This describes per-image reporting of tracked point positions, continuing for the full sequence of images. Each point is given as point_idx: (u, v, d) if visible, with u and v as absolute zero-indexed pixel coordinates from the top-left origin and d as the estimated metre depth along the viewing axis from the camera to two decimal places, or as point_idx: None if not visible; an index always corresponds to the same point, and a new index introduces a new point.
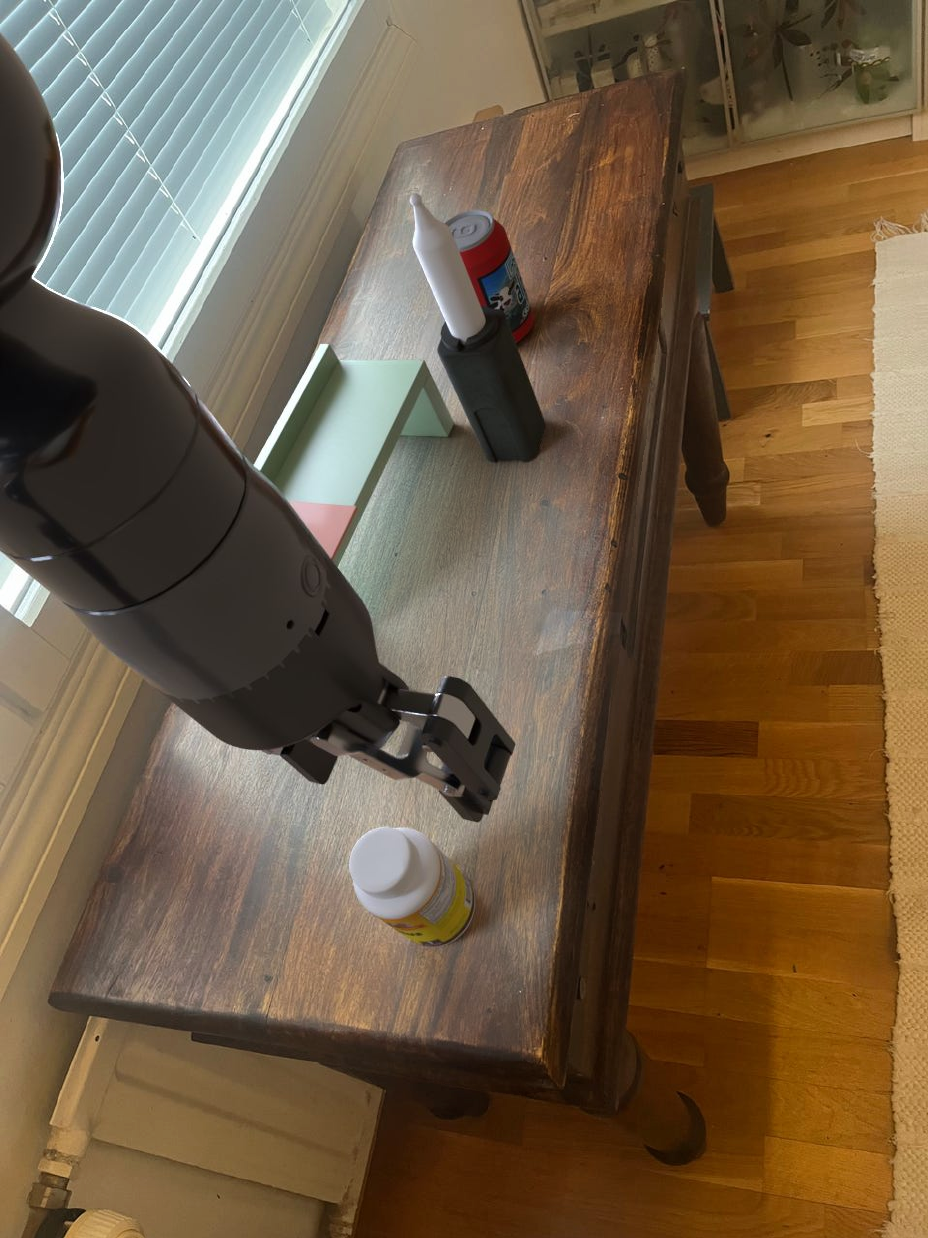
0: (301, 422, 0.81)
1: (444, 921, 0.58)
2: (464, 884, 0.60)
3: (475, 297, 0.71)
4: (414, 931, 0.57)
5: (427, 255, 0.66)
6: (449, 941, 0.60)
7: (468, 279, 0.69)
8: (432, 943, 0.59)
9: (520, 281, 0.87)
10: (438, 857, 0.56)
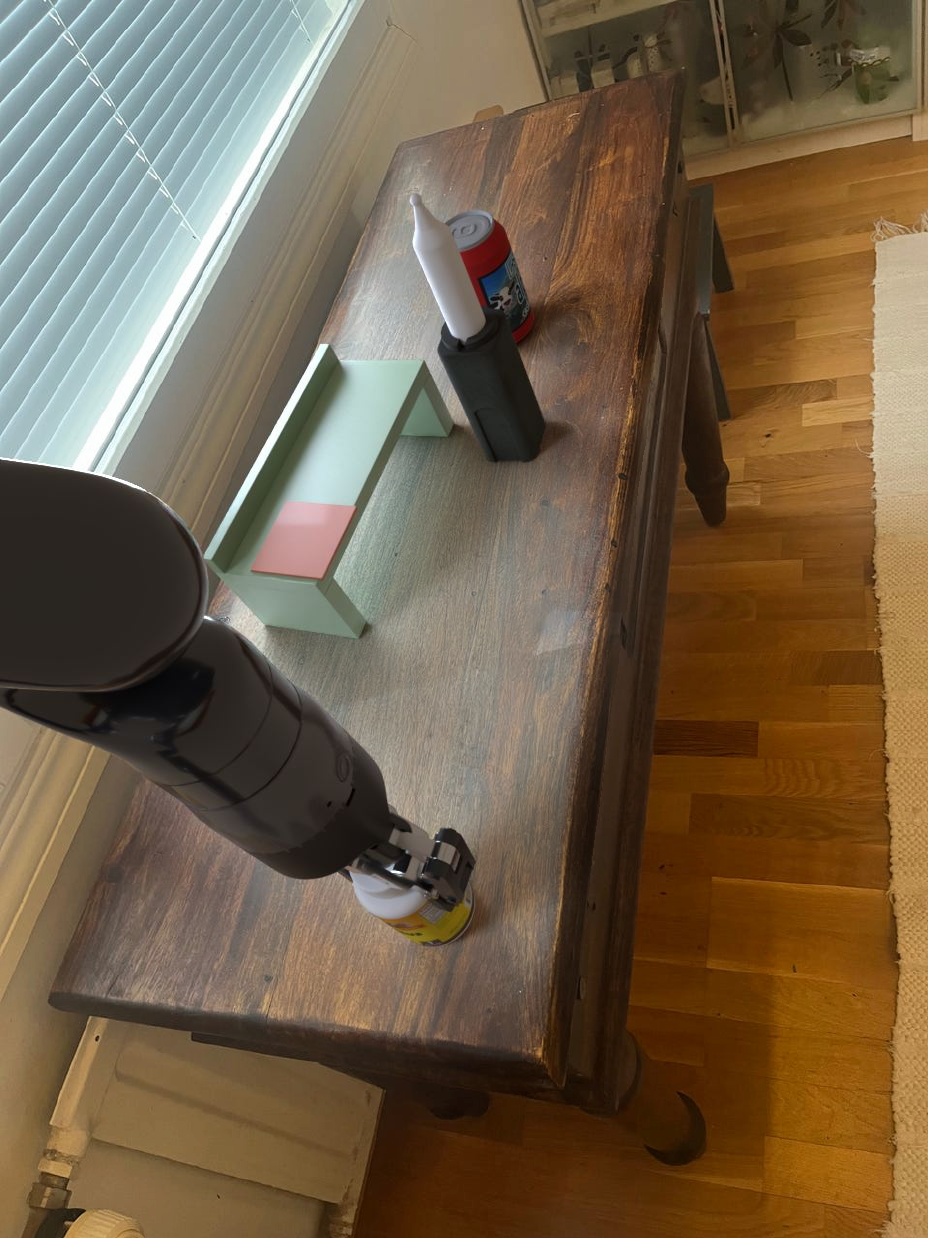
0: (301, 422, 0.81)
1: (444, 921, 0.58)
2: None
3: (475, 297, 0.71)
4: (414, 931, 0.57)
5: (427, 255, 0.66)
6: (449, 941, 0.60)
7: (468, 279, 0.69)
8: (432, 943, 0.59)
9: (520, 281, 0.87)
10: None
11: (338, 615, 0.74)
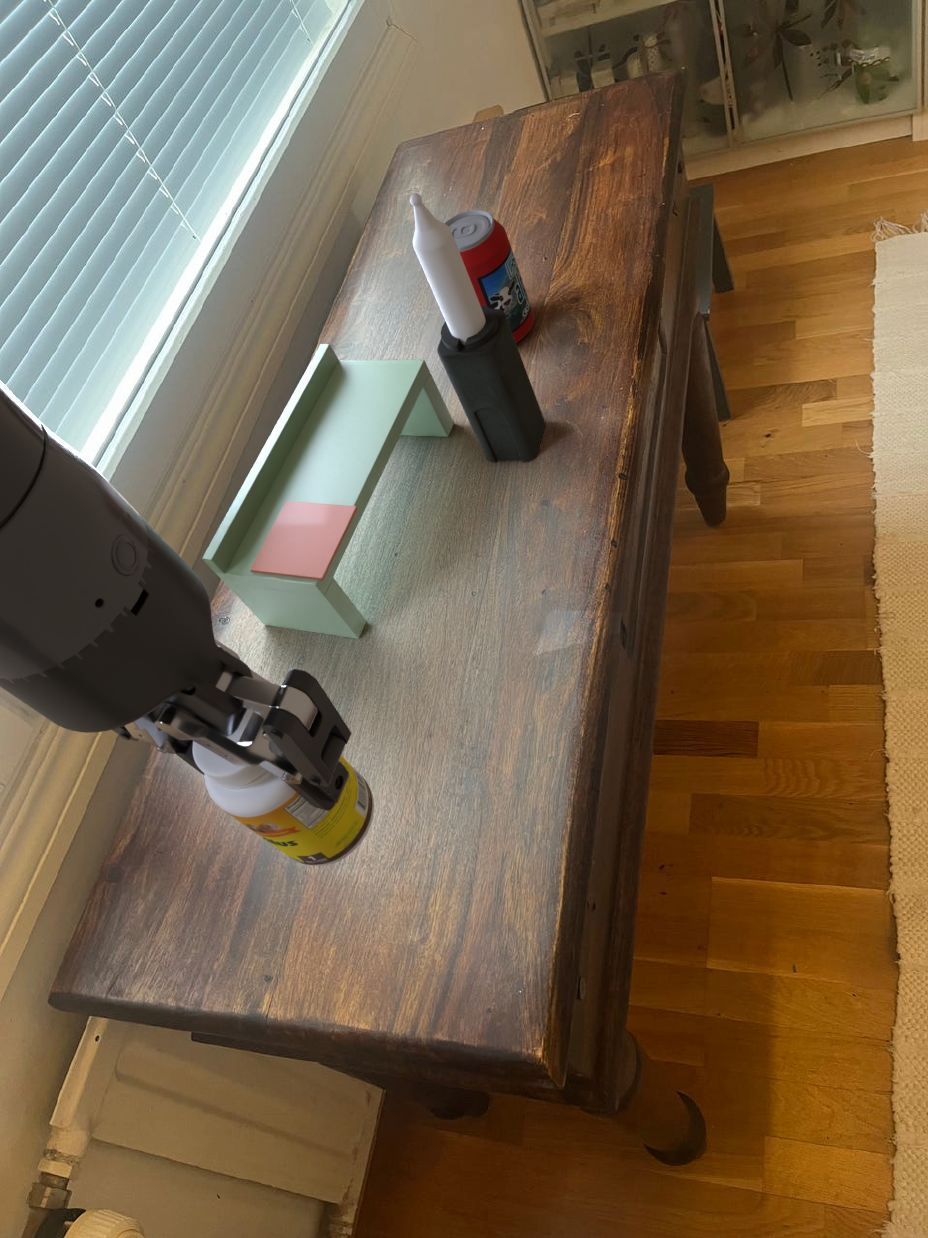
0: (301, 422, 0.81)
1: (326, 826, 0.45)
2: (356, 783, 0.47)
3: (475, 297, 0.71)
4: (285, 839, 0.44)
5: (427, 255, 0.66)
6: (337, 857, 0.47)
7: (468, 279, 0.69)
8: (314, 859, 0.46)
9: (520, 281, 0.87)
10: None
11: (338, 615, 0.74)
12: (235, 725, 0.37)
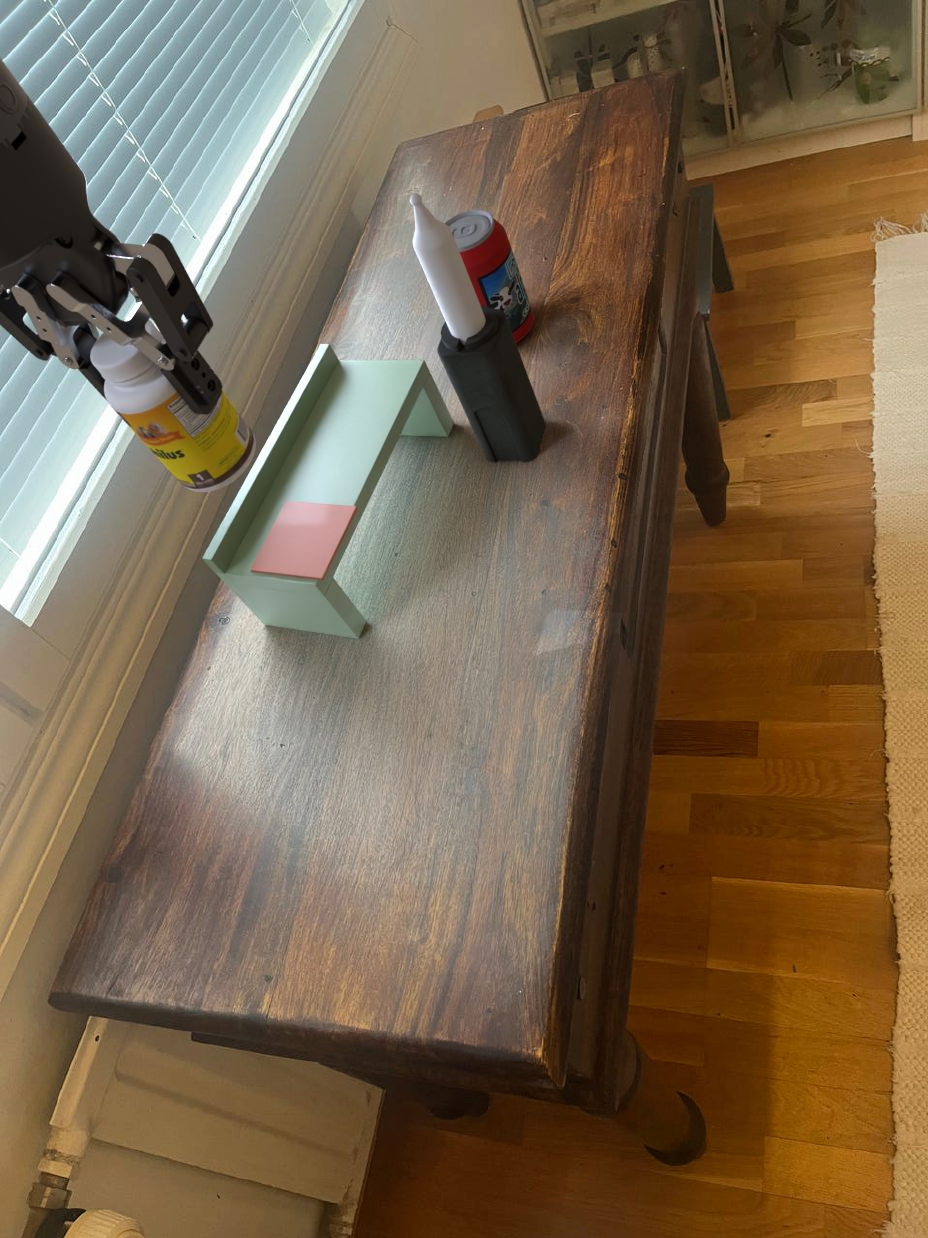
0: (301, 422, 0.81)
1: (207, 438, 0.54)
2: (237, 416, 0.56)
3: (475, 297, 0.71)
4: (173, 447, 0.54)
5: (427, 255, 0.66)
6: (222, 479, 0.56)
7: (468, 279, 0.69)
8: (202, 478, 0.56)
9: (520, 281, 0.87)
10: None
11: (338, 615, 0.74)
12: (113, 299, 0.46)
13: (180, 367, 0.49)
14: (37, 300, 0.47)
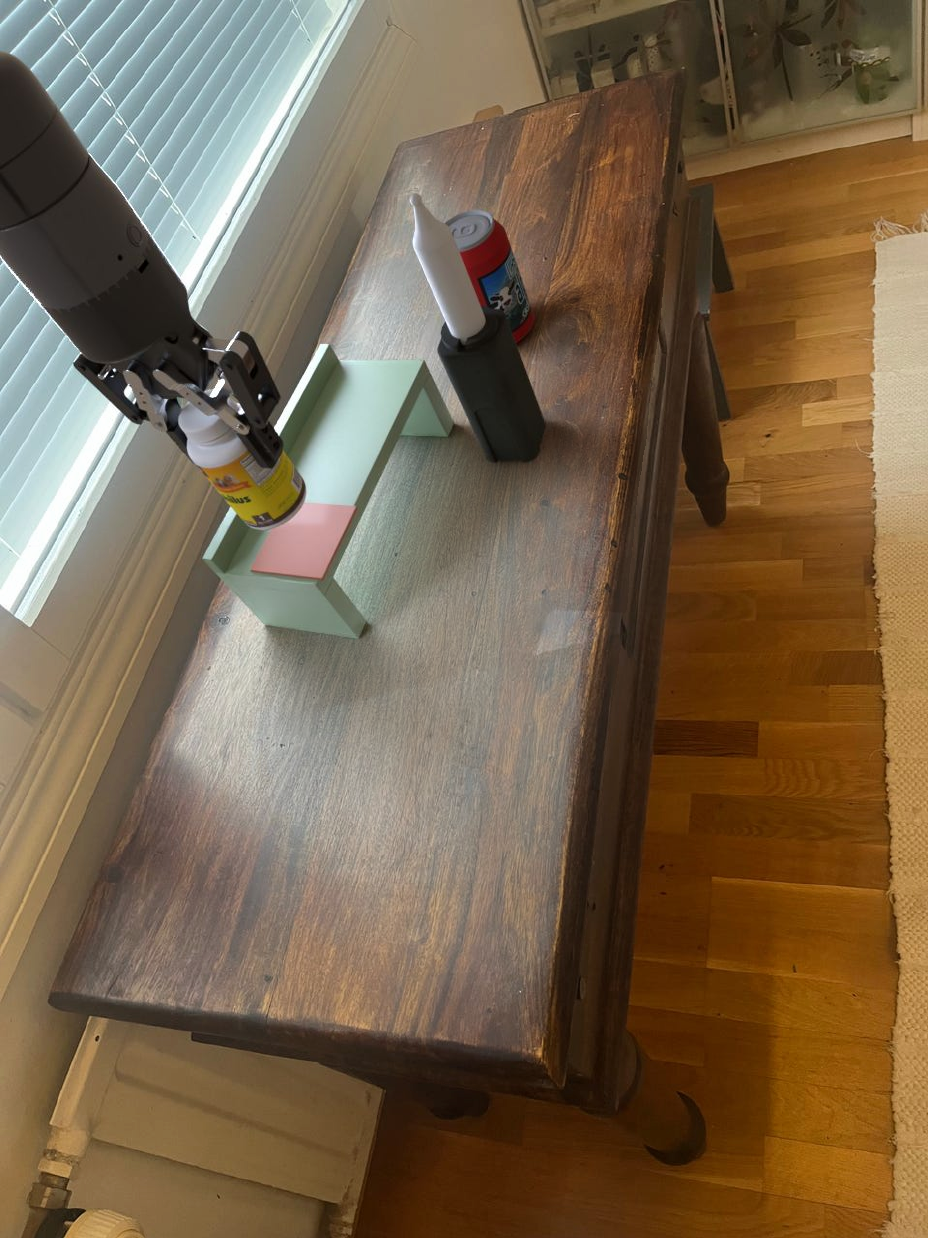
0: (301, 422, 0.81)
1: (269, 487, 0.66)
2: (292, 468, 0.68)
3: (475, 297, 0.71)
4: (242, 494, 0.65)
5: (427, 255, 0.66)
6: (280, 519, 0.68)
7: (468, 279, 0.69)
8: (264, 519, 0.68)
9: (520, 281, 0.87)
10: None
11: (338, 615, 0.74)
12: (204, 380, 0.58)
13: (253, 432, 0.61)
14: (142, 380, 0.58)
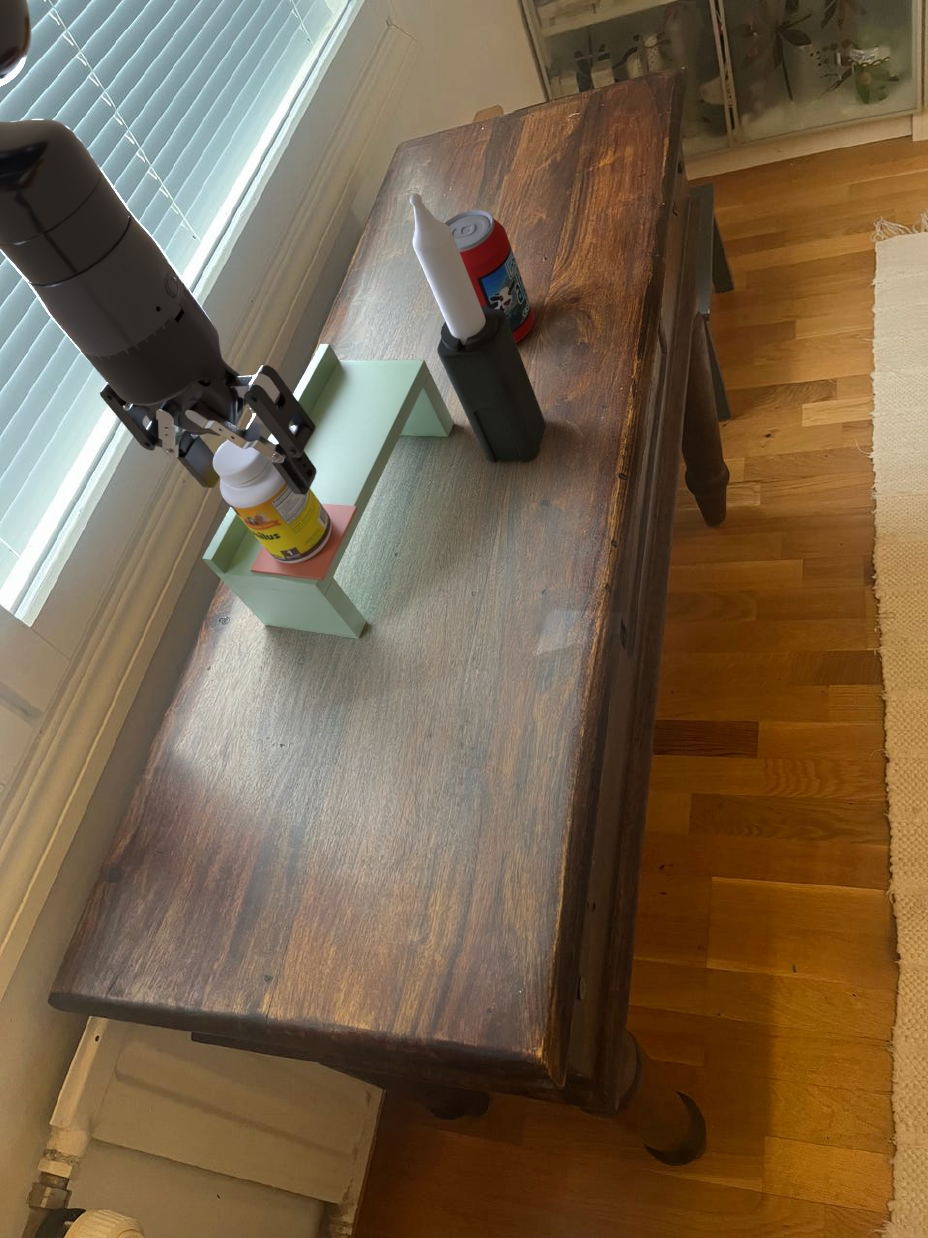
0: None
1: (298, 524, 0.69)
2: (319, 505, 0.71)
3: (475, 297, 0.71)
4: (272, 531, 0.69)
5: (427, 255, 0.66)
6: (307, 554, 0.71)
7: (468, 279, 0.69)
8: (292, 553, 0.71)
9: (520, 281, 0.87)
10: None
11: (338, 615, 0.74)
12: (234, 418, 0.61)
13: (288, 460, 0.63)
14: (175, 419, 0.61)
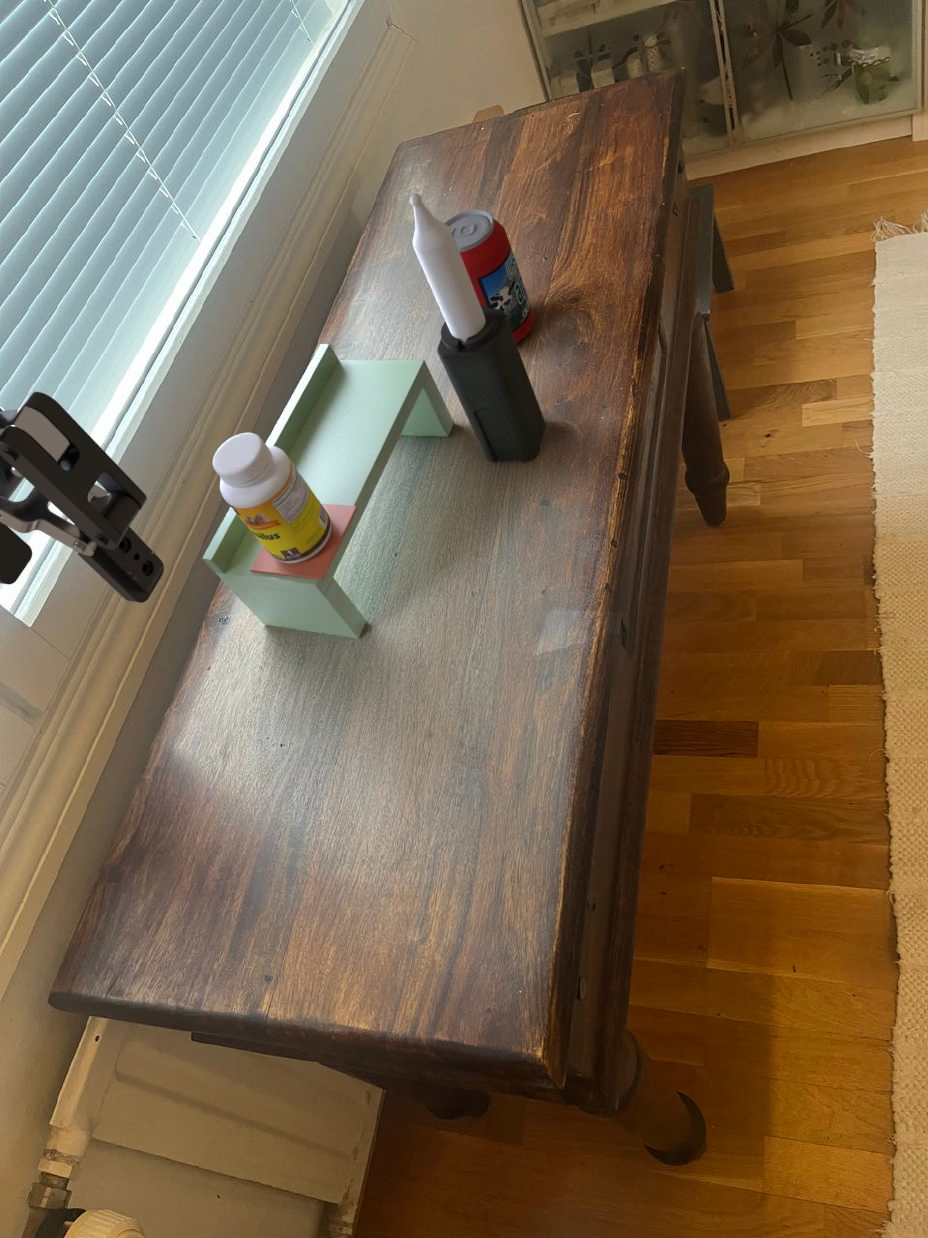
0: (301, 422, 0.81)
1: (298, 524, 0.69)
2: (319, 505, 0.71)
3: (475, 297, 0.71)
4: (272, 531, 0.69)
5: (427, 255, 0.66)
6: (307, 554, 0.71)
7: (468, 279, 0.69)
8: (292, 553, 0.71)
9: (520, 281, 0.87)
10: (289, 462, 0.67)
11: (338, 615, 0.74)
12: (1, 483, 0.35)
13: (104, 551, 0.38)
14: None
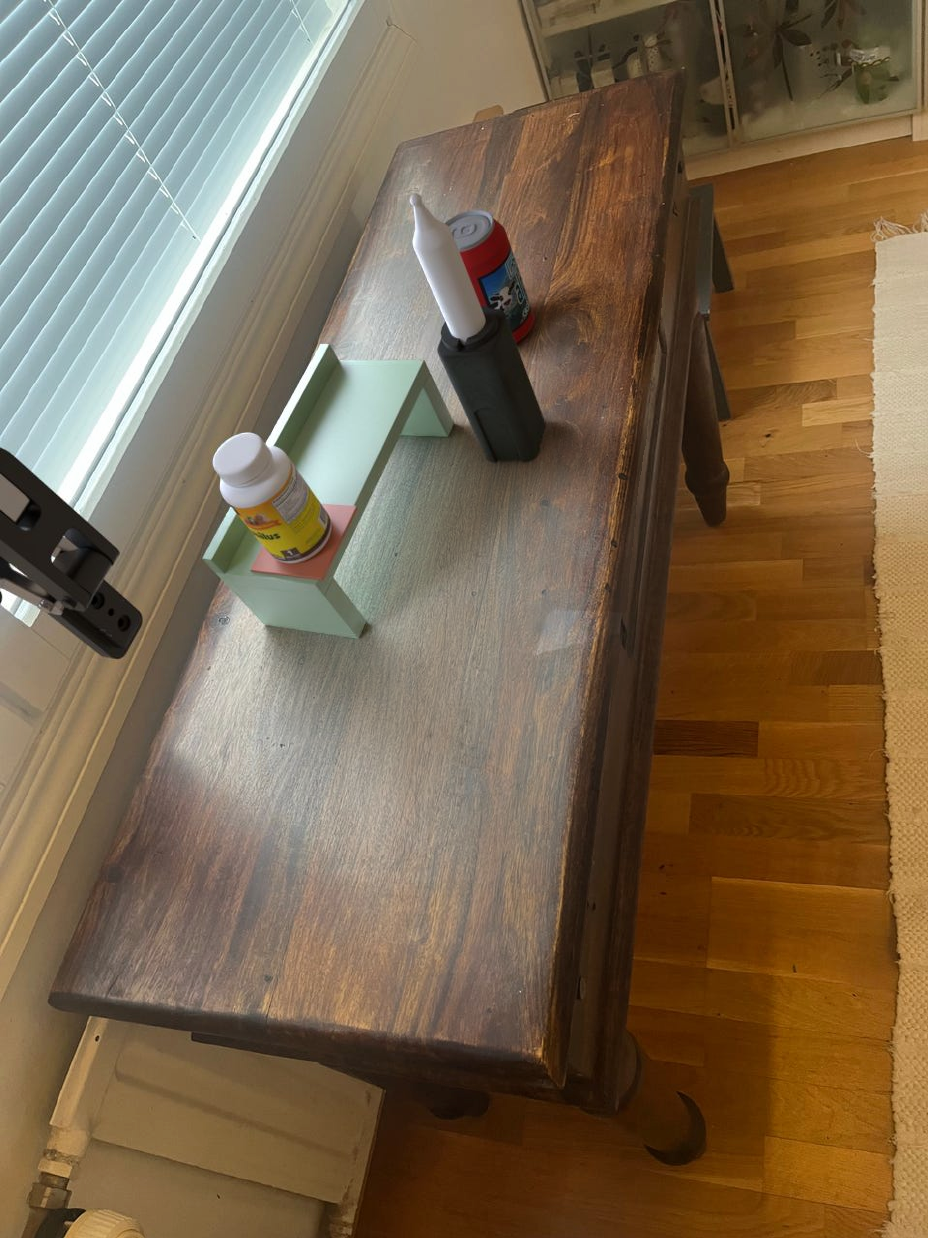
0: (301, 422, 0.81)
1: (298, 524, 0.69)
2: (319, 505, 0.71)
3: (475, 297, 0.71)
4: (272, 531, 0.69)
5: (427, 255, 0.66)
6: (307, 554, 0.71)
7: (468, 279, 0.69)
8: (292, 553, 0.71)
9: (520, 281, 0.87)
10: (289, 462, 0.67)
11: (338, 615, 0.74)
12: None
13: (74, 609, 0.34)
14: None
